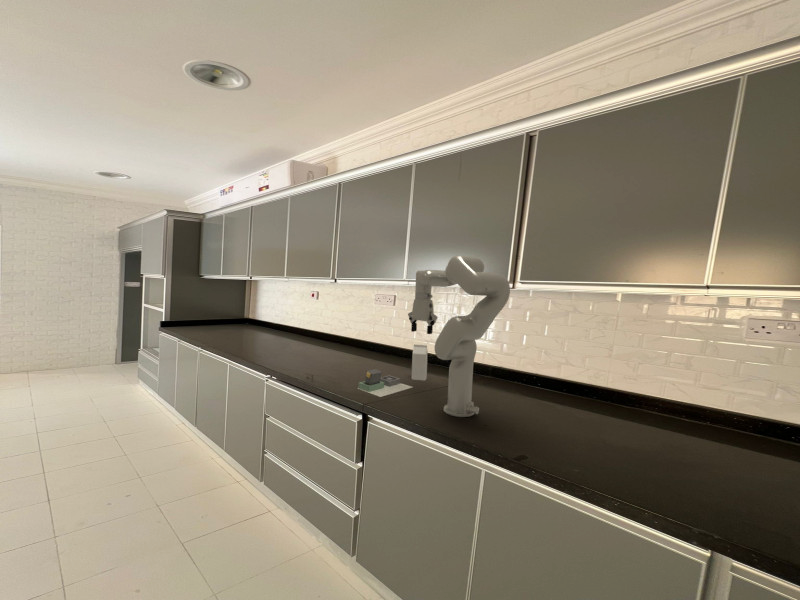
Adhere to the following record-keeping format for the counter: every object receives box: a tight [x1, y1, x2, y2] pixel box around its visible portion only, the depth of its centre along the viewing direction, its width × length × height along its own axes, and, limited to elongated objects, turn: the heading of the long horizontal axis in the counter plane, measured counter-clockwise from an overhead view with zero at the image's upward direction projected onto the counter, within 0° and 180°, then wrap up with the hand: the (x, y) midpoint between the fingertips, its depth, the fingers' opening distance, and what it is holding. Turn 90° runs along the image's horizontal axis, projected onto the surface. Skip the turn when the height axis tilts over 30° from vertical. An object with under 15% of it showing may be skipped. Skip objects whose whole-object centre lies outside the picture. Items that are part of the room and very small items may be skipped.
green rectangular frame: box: [358, 380, 384, 393], centre depth 166 cm, size 8×10×3 cm
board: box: [357, 374, 413, 398], centre depth 167 cm, size 16×22×4 cm
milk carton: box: [411, 344, 429, 382], centre depth 186 cm, size 7×7×19 cm
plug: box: [364, 368, 382, 385], centre depth 165 cm, size 4×7×8 cm, turn 137°
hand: (421, 332), depth 167 cm, fingers open, 9 cm apart
